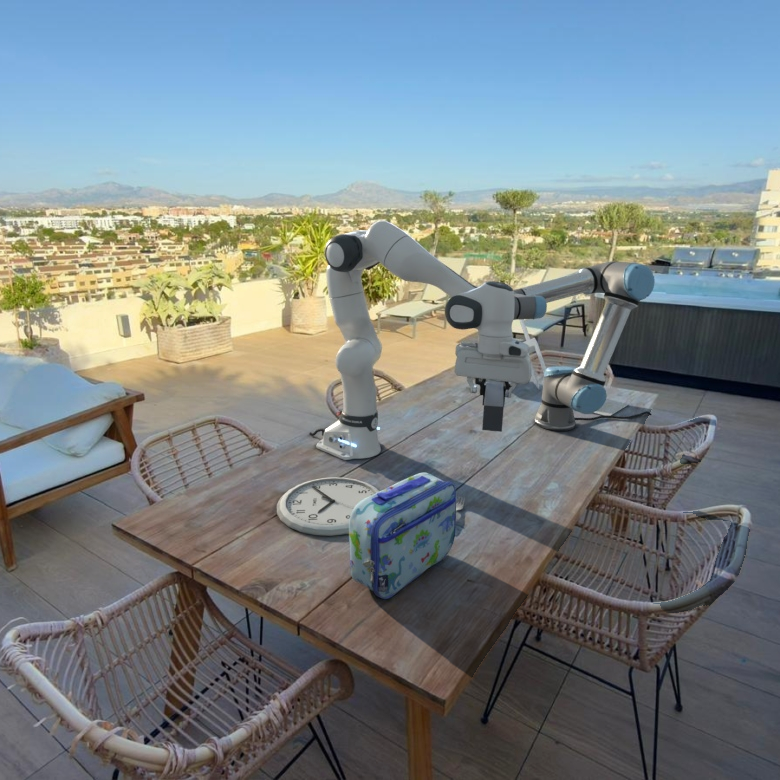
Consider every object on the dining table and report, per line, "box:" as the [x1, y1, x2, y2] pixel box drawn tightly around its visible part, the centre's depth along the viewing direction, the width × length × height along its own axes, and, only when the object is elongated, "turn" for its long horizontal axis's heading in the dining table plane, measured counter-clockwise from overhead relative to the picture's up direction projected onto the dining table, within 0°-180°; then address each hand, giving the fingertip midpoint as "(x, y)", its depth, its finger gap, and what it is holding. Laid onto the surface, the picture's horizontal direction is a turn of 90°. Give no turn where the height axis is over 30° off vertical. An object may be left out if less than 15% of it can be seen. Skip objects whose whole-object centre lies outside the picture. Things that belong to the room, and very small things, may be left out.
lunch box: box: [348, 471, 457, 600], centre depth 113 cm, size 26×11×21 cm, turn 134°
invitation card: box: [593, 399, 629, 416], centre depth 226 cm, size 21×1×15 cm
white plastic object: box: [512, 319, 547, 390], centre depth 260 cm, size 37×45×31 cm
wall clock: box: [276, 476, 381, 537], centre depth 142 cm, size 30×2×30 cm
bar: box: [481, 380, 505, 432], centre depth 169 cm, size 26×6×8 cm, turn 168°
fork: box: [456, 494, 466, 512], centre depth 138 cm, size 3×16×2 cm, turn 160°
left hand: (490, 394), depth 142 cm, fingers open, 8 cm apart
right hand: (493, 404), depth 179 cm, fingers closed on bar, 6 cm apart
